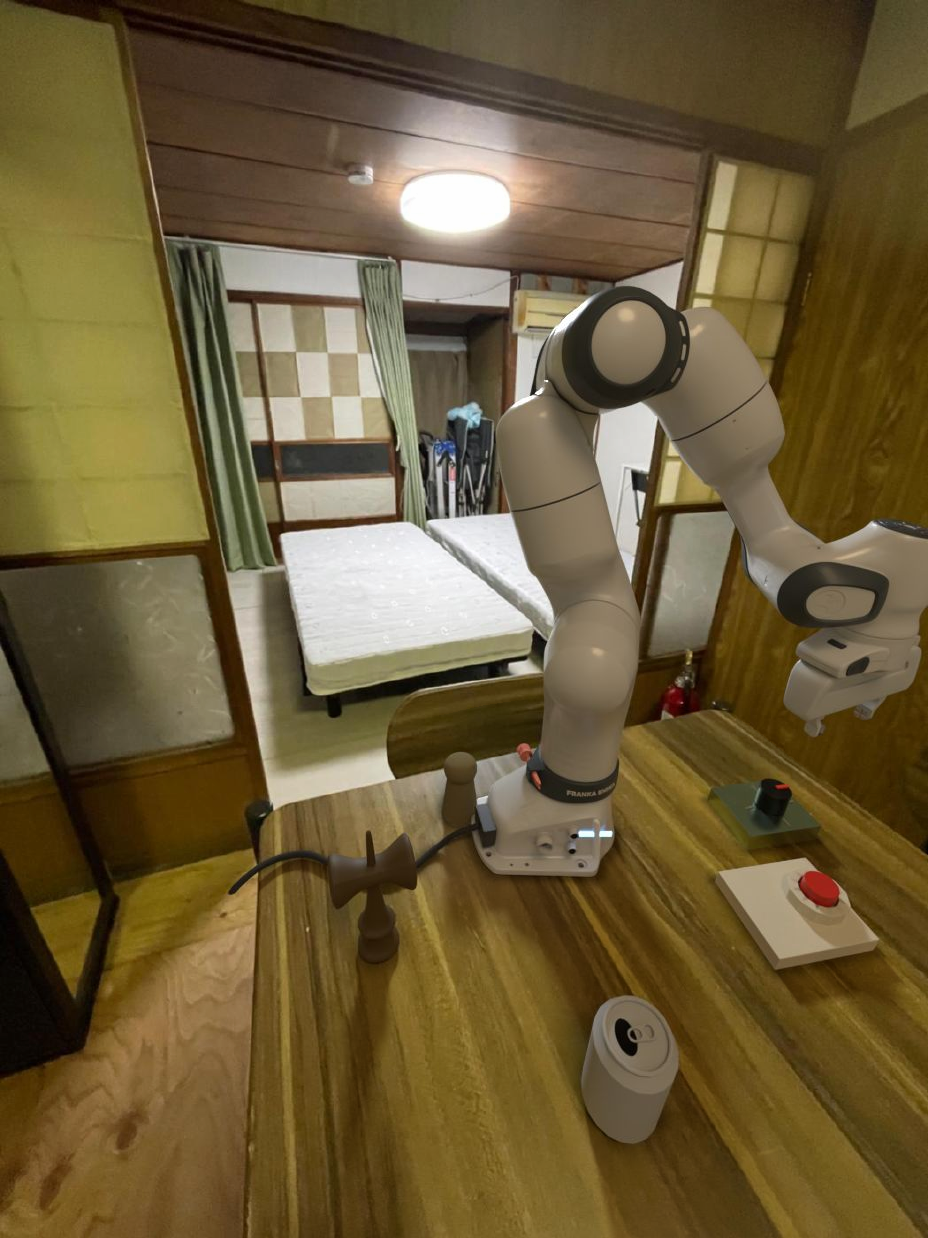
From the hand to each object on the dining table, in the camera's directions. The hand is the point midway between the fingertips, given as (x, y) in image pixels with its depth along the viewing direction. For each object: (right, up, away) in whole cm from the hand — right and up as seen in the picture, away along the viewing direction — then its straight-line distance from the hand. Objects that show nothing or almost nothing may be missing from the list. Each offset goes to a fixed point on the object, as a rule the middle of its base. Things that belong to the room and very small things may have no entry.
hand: (837, 725), depth 74 cm
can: (-39, -32, -23) cm, 55 cm away
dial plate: (-6, -17, +9) cm, 20 cm away
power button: (-8, -21, -7) cm, 23 cm away
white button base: (-11, -24, -6) cm, 27 cm away
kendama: (-65, -26, -10) cm, 70 cm away
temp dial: (-5, -14, +8) cm, 17 cm away
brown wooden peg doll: (-55, -16, +10) cm, 58 cm away
